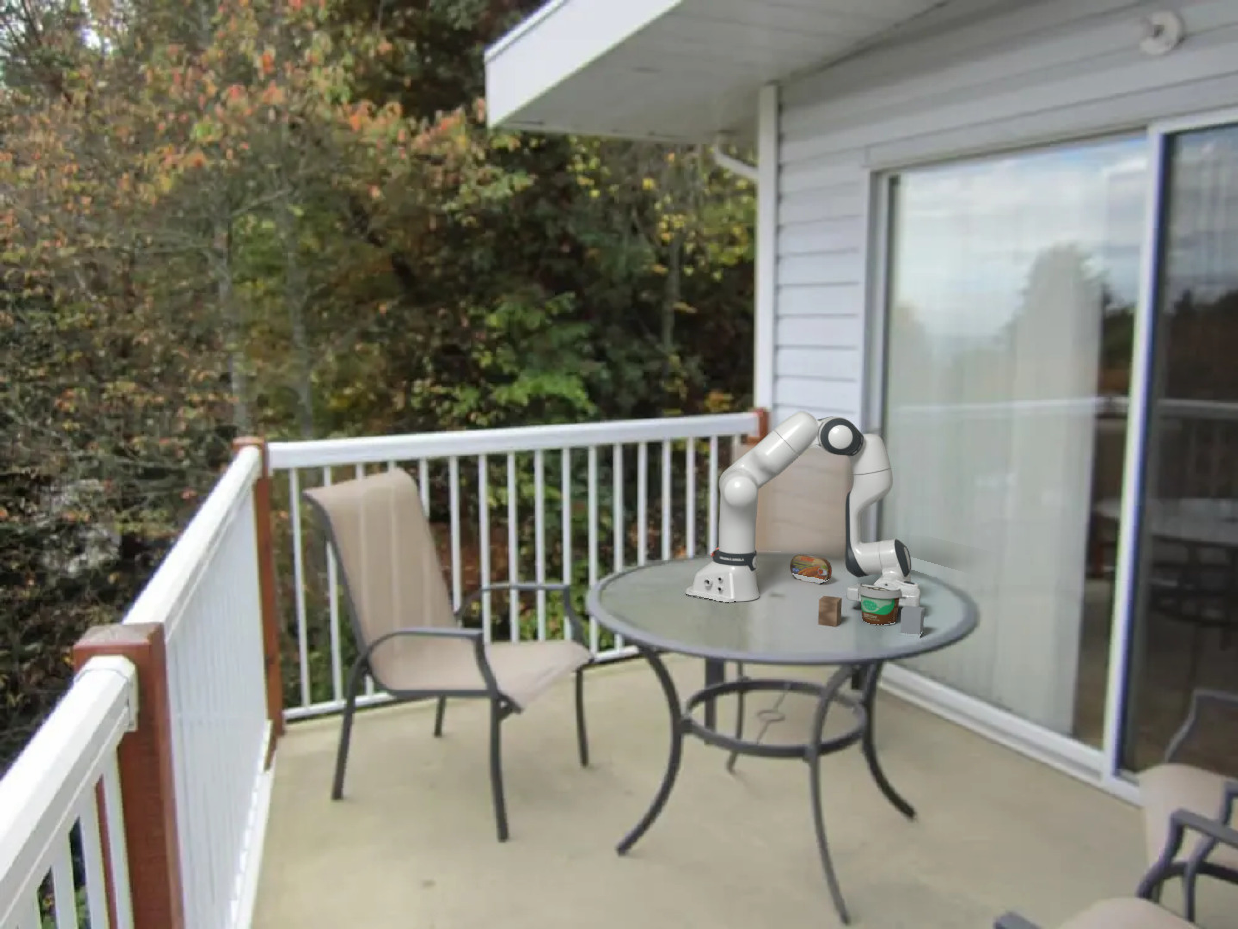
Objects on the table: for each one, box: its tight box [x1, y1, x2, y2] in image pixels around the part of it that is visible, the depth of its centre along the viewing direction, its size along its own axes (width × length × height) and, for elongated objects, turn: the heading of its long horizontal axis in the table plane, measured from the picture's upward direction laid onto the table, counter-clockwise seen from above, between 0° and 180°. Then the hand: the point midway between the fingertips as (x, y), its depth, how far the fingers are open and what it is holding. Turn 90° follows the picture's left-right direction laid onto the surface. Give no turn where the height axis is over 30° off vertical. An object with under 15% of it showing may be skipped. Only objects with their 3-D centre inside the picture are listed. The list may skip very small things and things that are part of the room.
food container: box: [858, 582, 902, 626], centre depth 270 cm, size 12×6×10 cm, turn 53°
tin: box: [789, 554, 833, 581], centre depth 317 cm, size 15×3×8 cm, turn 42°
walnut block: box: [817, 595, 843, 628], centre depth 270 cm, size 5×5×7 cm
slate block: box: [899, 605, 925, 635], centre depth 260 cm, size 5×5×7 cm
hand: (878, 602), depth 273 cm, fingers closed
